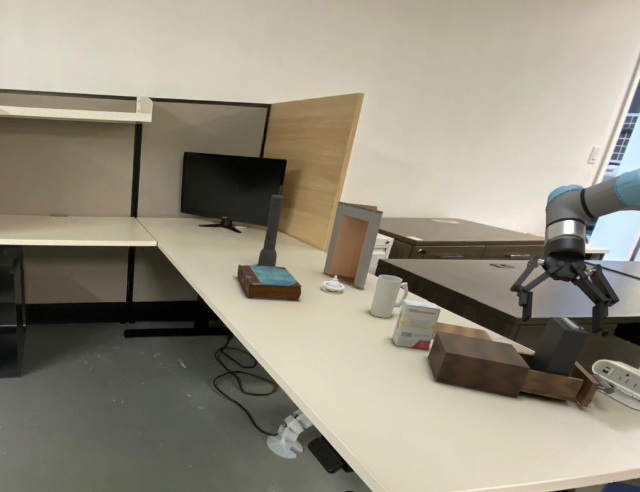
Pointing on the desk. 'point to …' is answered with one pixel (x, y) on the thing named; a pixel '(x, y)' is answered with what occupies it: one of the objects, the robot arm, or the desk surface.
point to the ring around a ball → (333, 285)
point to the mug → (387, 295)
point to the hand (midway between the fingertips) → (561, 325)
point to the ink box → (416, 324)
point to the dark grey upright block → (559, 347)
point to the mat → (461, 331)
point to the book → (268, 282)
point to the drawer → (564, 384)
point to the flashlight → (271, 233)
